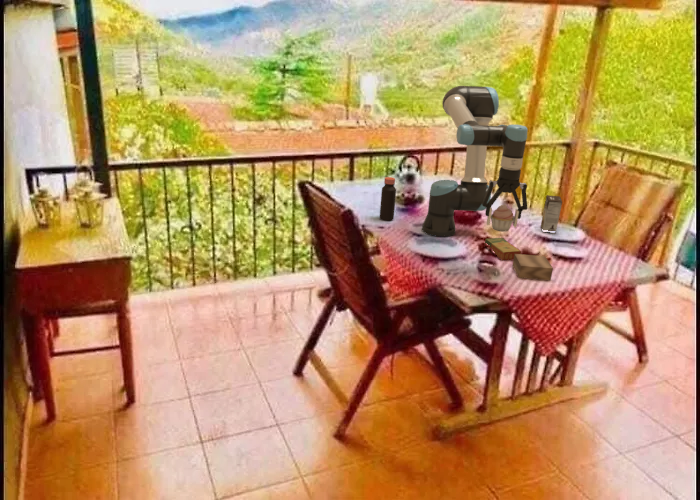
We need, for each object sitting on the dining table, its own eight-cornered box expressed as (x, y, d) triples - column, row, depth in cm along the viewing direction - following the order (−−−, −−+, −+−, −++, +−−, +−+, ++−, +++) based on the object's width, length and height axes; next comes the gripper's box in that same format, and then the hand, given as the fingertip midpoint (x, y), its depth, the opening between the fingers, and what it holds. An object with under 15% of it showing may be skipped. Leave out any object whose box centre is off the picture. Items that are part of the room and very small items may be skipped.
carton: (502, 261, 230) (503, 251, 229) (483, 247, 245) (484, 237, 243) (520, 260, 233) (521, 250, 231) (500, 246, 247) (502, 236, 245)
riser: (518, 277, 215) (520, 265, 213) (512, 265, 226) (514, 253, 224) (550, 280, 215) (553, 268, 213) (542, 267, 226) (545, 256, 224)
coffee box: (540, 226, 273) (546, 194, 267) (553, 228, 272) (560, 196, 266) (542, 232, 265) (548, 200, 259) (556, 234, 264) (563, 201, 258)
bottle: (388, 222, 267) (392, 181, 259) (376, 218, 270) (379, 178, 263) (396, 219, 272) (399, 178, 264) (384, 215, 275) (387, 175, 268)
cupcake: (517, 229, 217) (521, 205, 214) (505, 235, 211) (509, 209, 207) (496, 223, 223) (500, 199, 220) (483, 228, 217) (487, 203, 213)
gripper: (481, 168, 206) (473, 226, 214) (543, 172, 204) (532, 230, 213) (479, 163, 212) (471, 219, 221) (538, 167, 211) (528, 224, 219)
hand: (501, 225), depth 217 cm, fingers closed on cupcake, 9 cm apart
